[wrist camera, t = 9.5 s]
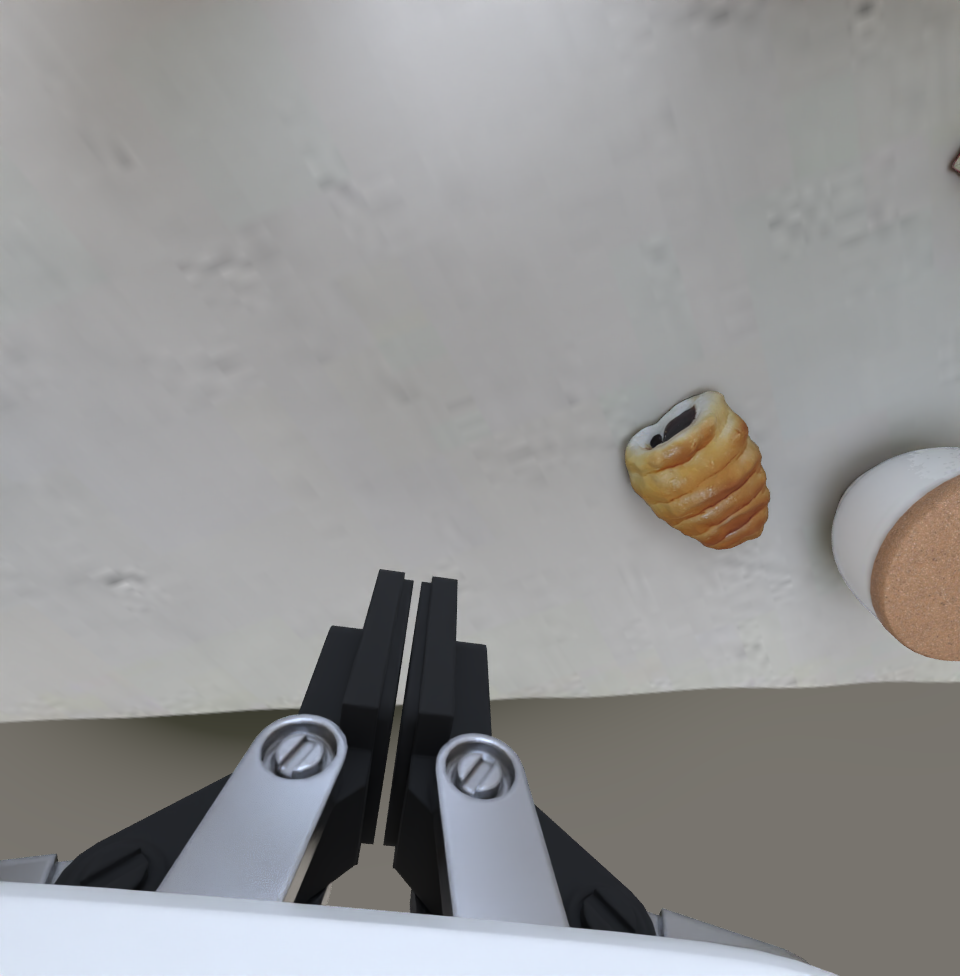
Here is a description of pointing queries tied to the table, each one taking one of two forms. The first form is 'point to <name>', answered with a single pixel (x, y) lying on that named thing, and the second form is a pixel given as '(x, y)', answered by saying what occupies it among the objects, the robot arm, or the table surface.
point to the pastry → (701, 472)
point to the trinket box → (906, 548)
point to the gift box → (957, 164)
